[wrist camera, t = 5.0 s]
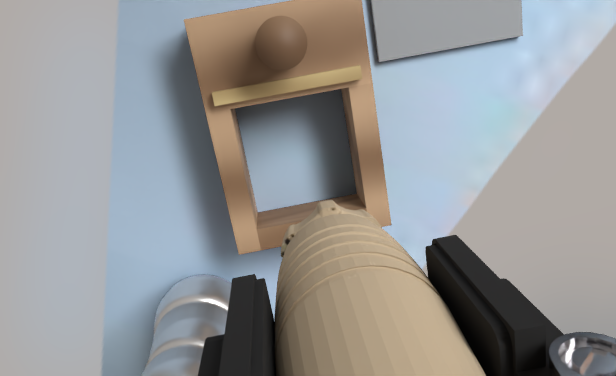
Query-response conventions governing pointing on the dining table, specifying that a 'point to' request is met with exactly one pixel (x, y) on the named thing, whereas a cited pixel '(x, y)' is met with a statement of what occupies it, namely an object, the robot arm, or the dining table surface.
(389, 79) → the dining table surface
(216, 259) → the dining table surface
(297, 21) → the body
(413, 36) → the mat
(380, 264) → the handle
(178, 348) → the plastic bottle
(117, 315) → the dining table surface
